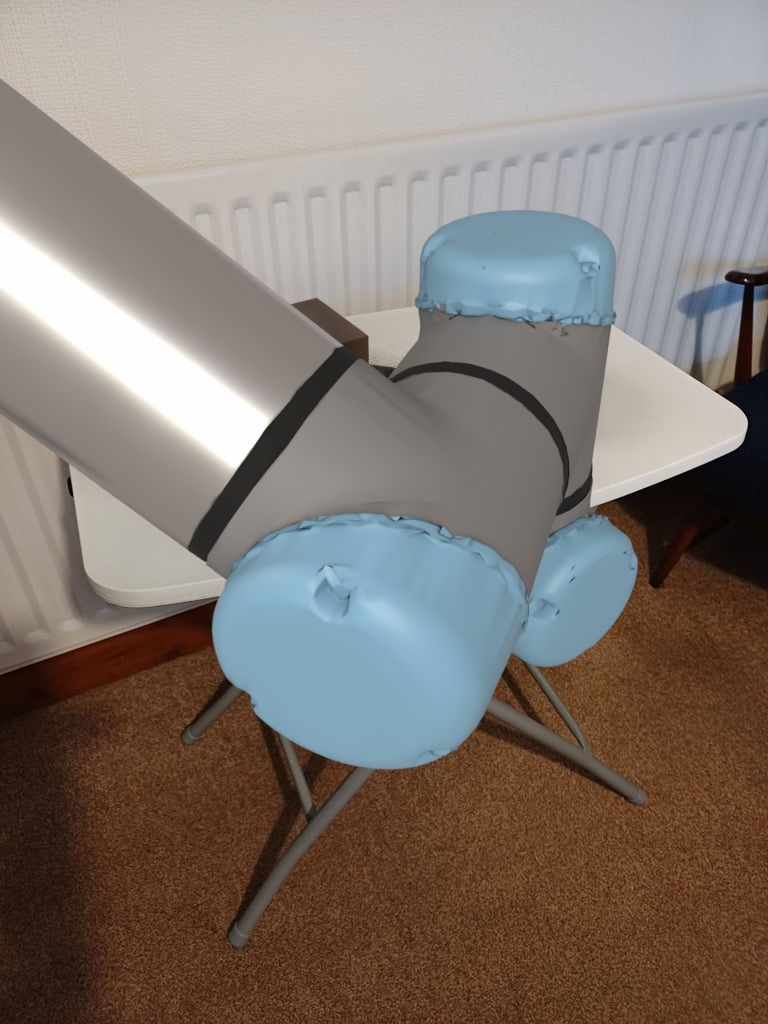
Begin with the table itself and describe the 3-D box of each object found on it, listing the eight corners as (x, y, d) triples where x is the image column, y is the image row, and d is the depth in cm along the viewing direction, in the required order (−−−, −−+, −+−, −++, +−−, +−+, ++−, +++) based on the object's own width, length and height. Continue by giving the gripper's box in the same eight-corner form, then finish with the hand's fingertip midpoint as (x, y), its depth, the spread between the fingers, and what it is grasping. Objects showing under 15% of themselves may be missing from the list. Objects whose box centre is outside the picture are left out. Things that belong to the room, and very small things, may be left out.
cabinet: (251, 438, 89) (243, 370, 84) (209, 390, 97) (199, 326, 92) (369, 400, 95) (368, 335, 90) (320, 359, 104) (316, 297, 98)
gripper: (298, 562, 44) (140, 407, 60) (472, 477, 50) (286, 355, 66) (281, 451, 40) (114, 314, 56) (474, 371, 46) (274, 267, 61)
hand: (207, 336), depth 61 cm, fingers closed
